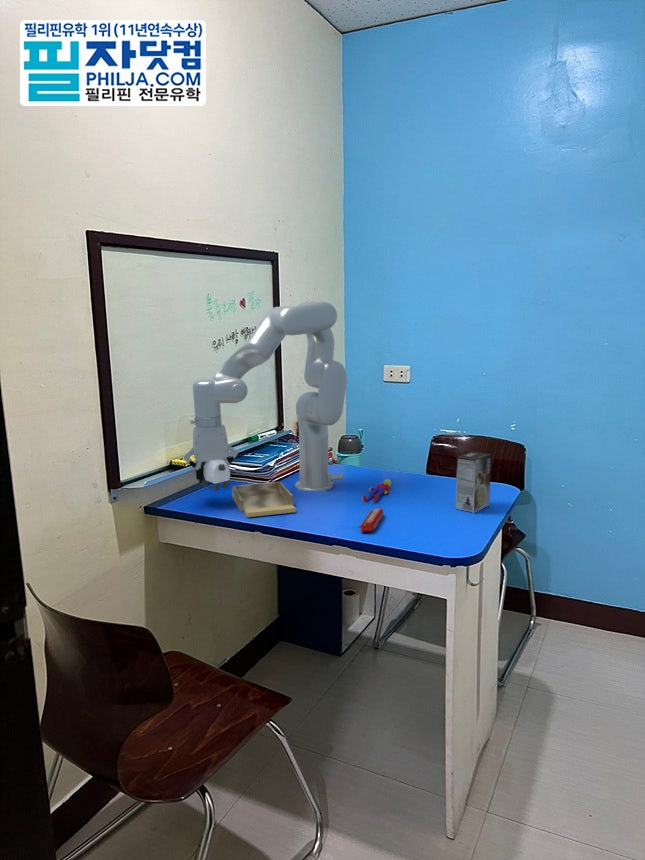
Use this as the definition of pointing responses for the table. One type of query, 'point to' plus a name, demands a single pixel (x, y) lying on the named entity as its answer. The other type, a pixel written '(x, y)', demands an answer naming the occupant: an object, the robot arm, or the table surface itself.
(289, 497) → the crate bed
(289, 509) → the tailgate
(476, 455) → the coffee box
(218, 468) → the giant panda
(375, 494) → the character figure
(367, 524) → the candy bar
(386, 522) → the table surface
